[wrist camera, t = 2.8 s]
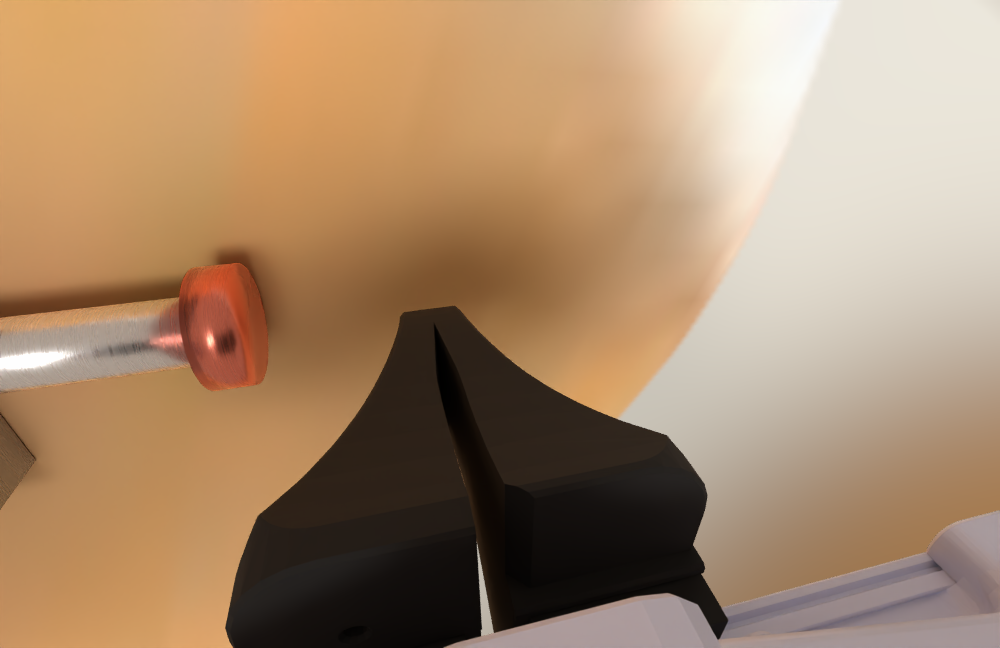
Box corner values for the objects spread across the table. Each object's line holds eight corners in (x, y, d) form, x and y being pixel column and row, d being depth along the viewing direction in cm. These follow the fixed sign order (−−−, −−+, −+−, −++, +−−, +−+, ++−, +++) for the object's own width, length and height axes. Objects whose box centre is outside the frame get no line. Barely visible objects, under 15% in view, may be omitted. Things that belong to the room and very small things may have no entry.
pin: (-168, 399, 13) (-302, 498, 10) (-275, 293, 11) (-467, 381, 9) (274, 339, 15) (256, 410, 12) (243, 243, 13) (214, 301, 11)
